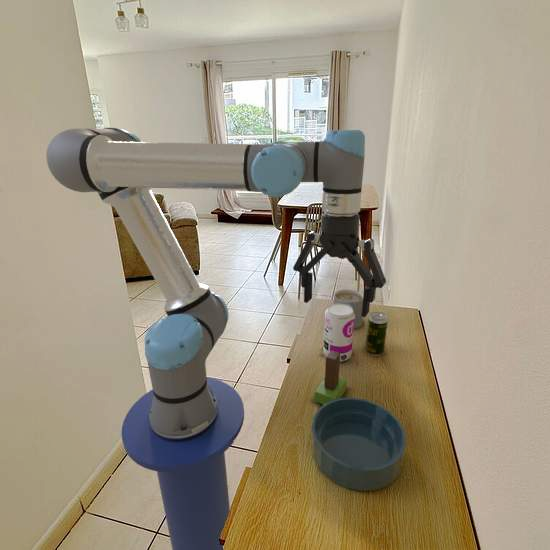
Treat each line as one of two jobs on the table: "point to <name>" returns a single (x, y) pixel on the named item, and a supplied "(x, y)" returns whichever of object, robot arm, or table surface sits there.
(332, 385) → the sponge brush
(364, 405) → the bowl
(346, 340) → the supplement can
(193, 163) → the robot arm
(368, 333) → the beer can
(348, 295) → the coffee mug
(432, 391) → the table surface
